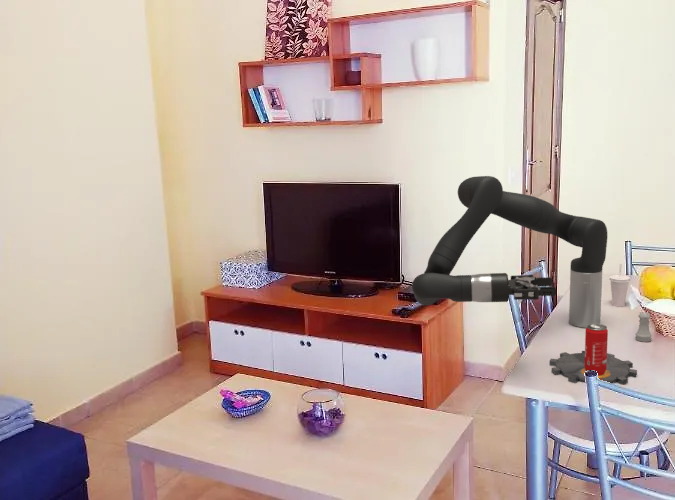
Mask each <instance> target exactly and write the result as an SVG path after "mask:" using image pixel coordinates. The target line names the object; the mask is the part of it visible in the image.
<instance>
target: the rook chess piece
mask: <svg viewBox="0 0 675 500" xmlns="http://www.w3.org/2000/svg"><path fill="white" fill-rule="evenodd" d="M638 318H639V320H638V322H639V325H638V329H637V331H636V332H635V337H634V338H635V340H636V341H638V342H641V343H649V342H651V341H652V340H653V339H652V335H653V334H652V333H651V331H650V325H649V324H650V319H651V315H650V313H649V312H647V311H645V312H644V311H641V312H639V314H638Z"/></svg>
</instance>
